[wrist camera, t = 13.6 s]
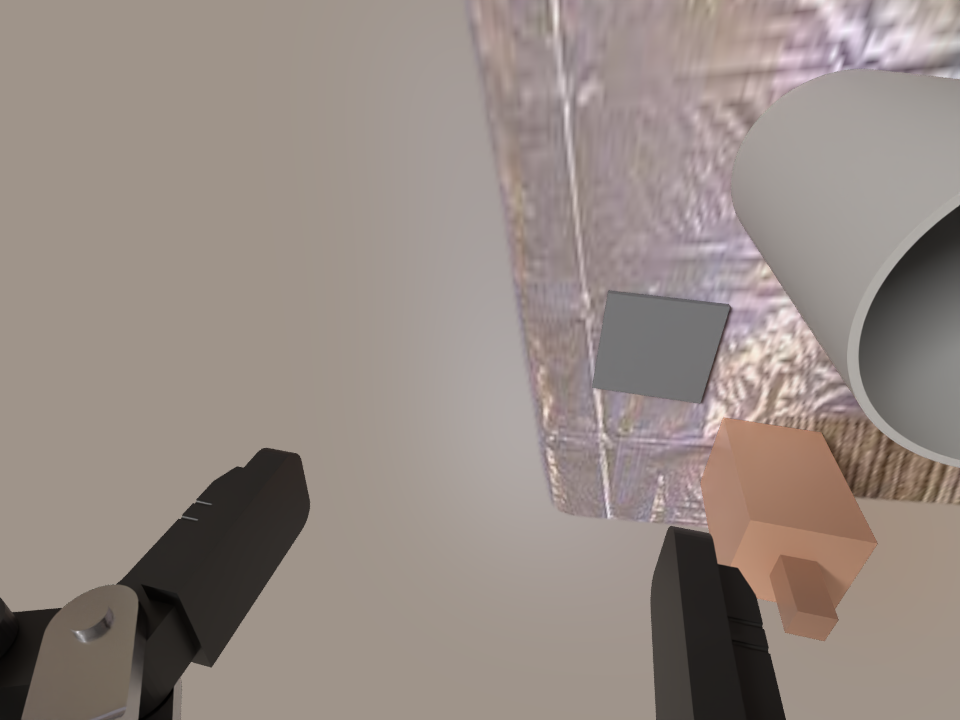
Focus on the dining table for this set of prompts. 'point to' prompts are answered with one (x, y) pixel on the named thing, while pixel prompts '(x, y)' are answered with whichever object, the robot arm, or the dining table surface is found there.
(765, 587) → the orange square bottle
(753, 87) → the dining table surface
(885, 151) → the cylinder vase
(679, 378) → the mat
